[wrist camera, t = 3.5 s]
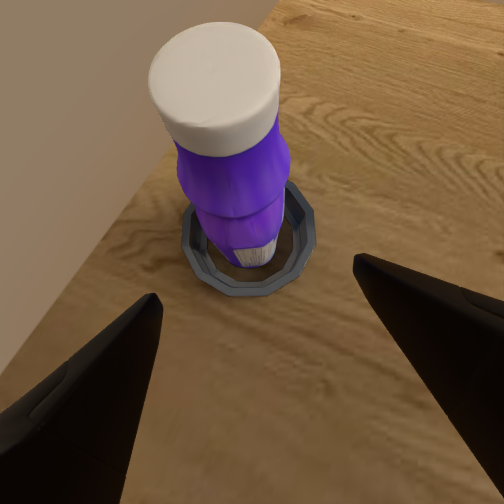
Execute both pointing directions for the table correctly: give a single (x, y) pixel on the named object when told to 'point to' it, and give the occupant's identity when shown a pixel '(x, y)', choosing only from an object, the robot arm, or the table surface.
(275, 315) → the table surface
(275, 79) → the bottle
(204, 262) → the ring
